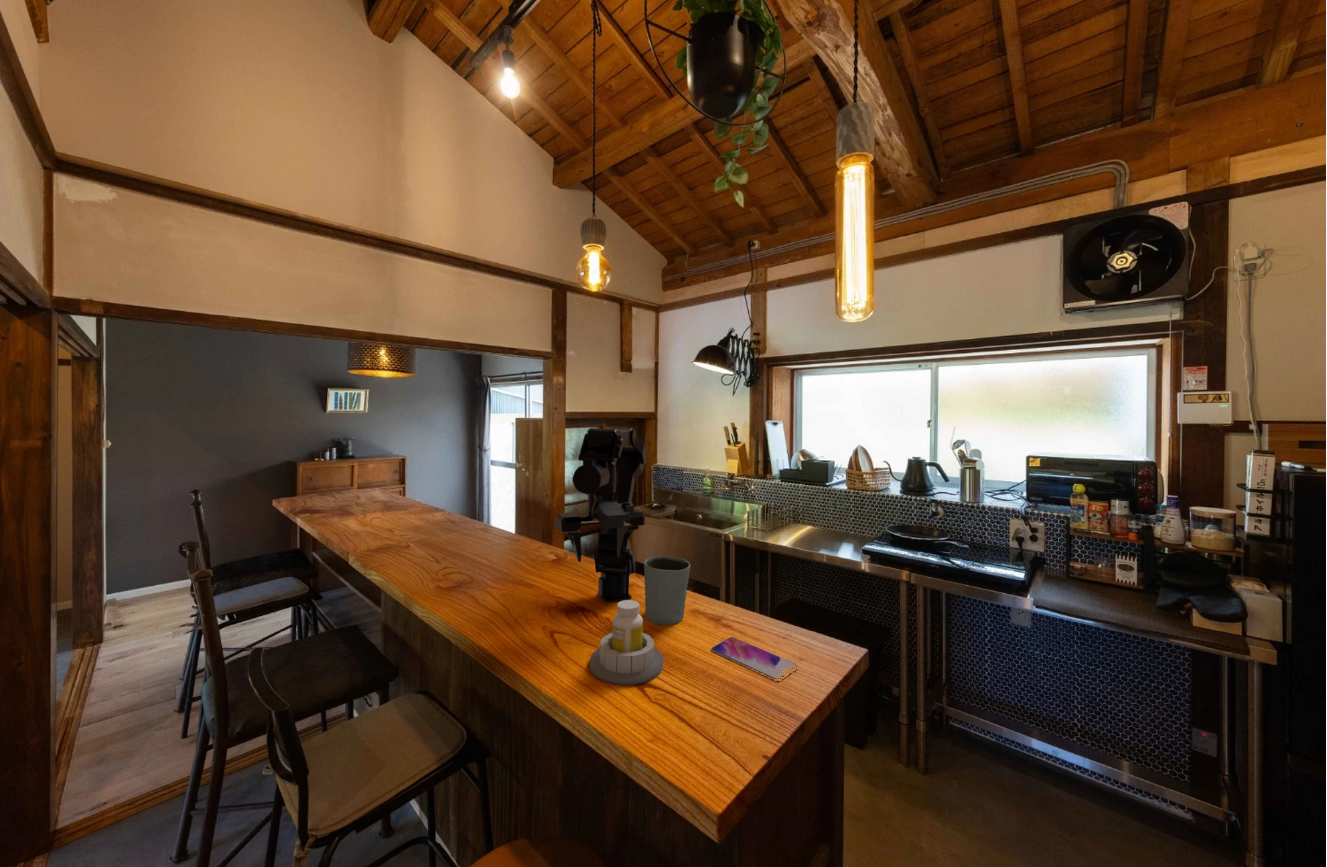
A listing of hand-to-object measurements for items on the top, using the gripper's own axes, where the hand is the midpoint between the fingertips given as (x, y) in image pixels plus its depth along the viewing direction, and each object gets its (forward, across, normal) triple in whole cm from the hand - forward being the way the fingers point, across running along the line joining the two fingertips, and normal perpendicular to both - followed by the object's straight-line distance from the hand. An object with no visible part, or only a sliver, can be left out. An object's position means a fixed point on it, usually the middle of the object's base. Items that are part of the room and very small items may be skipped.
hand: (599, 559), depth 103 cm
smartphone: (+14, +20, -28) cm, 37 cm away
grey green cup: (+13, +14, -5) cm, 20 cm away
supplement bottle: (+12, -2, -20) cm, 23 cm away
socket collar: (+13, -2, -20) cm, 24 cm away
